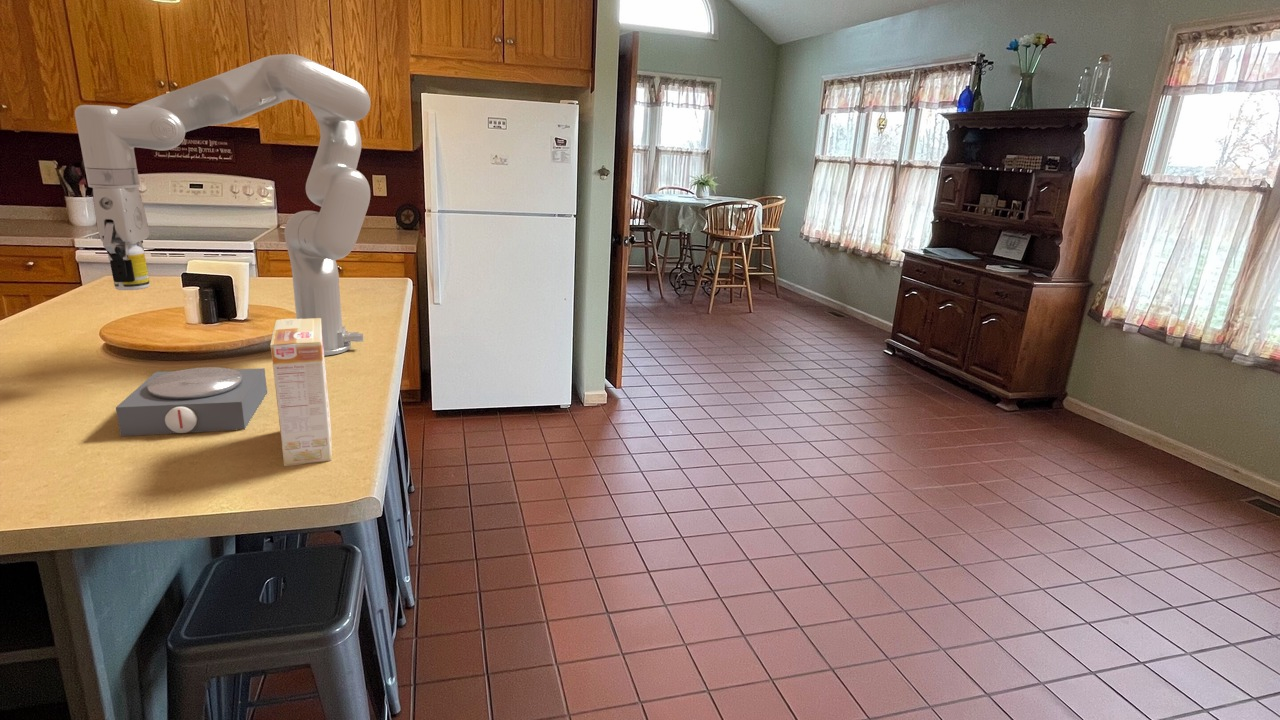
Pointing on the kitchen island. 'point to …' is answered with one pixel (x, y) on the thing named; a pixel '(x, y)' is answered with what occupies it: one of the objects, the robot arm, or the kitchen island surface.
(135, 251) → the supplement bottle
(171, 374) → the scale pan
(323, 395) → the coffeecake box
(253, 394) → the scale base
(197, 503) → the kitchen island surface
